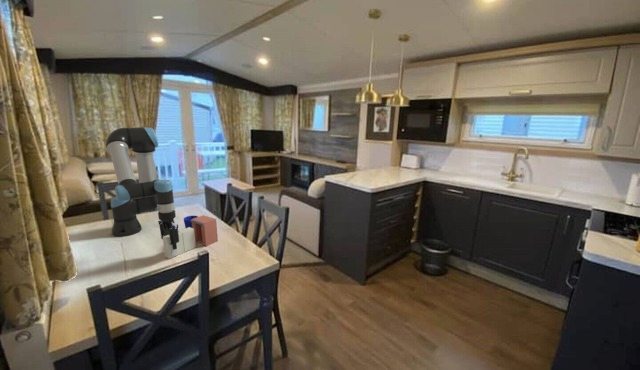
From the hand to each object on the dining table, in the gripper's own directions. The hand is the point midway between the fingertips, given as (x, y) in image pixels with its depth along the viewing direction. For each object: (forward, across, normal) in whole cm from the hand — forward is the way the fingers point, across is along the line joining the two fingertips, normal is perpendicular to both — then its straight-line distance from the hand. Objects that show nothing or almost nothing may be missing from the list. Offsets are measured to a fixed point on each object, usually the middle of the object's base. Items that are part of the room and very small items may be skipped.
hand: (171, 253), depth 144 cm
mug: (+2, -15, +24) cm, 29 cm away
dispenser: (+2, 0, +20) cm, 21 cm away
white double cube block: (+2, 0, +5) cm, 5 cm away
